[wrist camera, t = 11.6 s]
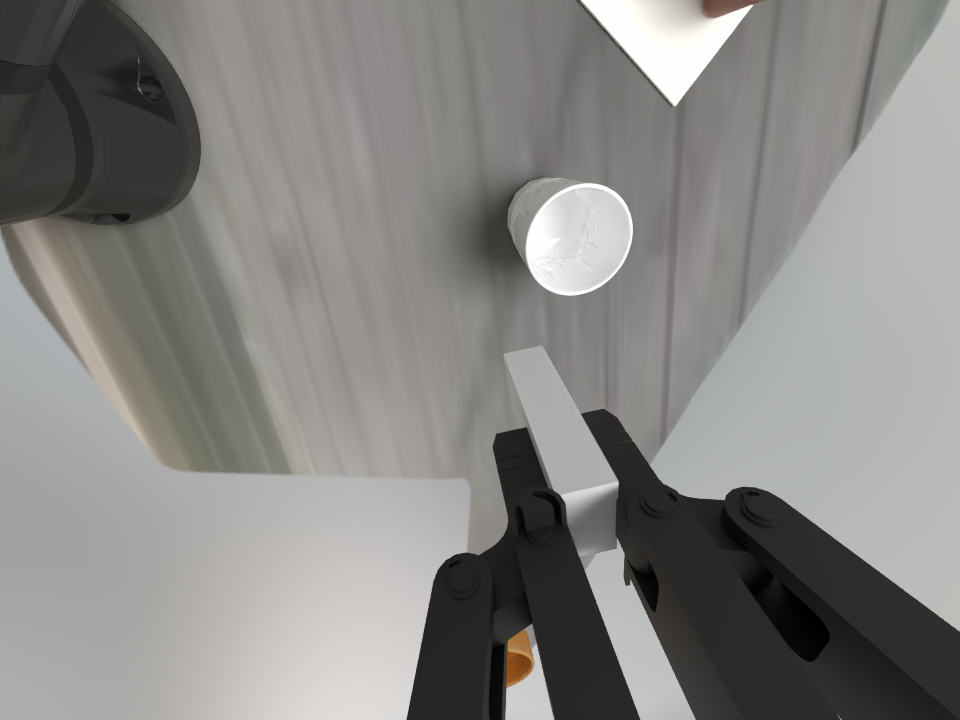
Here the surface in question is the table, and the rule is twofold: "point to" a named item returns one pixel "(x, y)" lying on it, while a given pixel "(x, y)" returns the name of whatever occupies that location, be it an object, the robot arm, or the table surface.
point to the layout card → (666, 37)
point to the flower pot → (519, 658)
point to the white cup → (570, 233)
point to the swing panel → (725, 6)
